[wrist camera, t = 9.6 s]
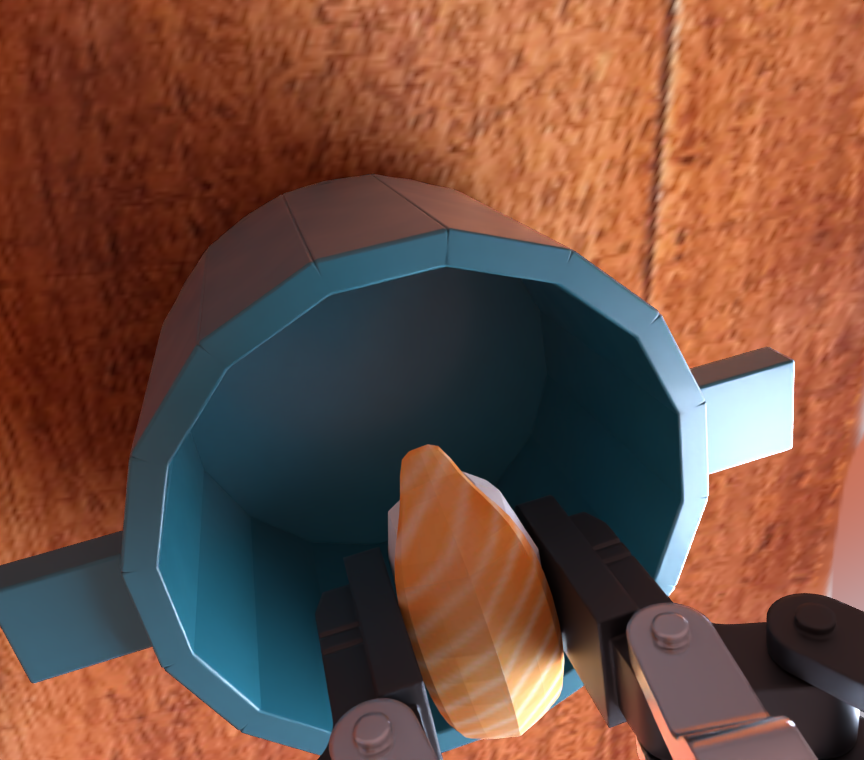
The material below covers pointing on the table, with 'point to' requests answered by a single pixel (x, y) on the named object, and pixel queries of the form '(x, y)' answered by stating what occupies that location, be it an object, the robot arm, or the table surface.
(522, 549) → the sushi
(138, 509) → the pot
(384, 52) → the table surface
